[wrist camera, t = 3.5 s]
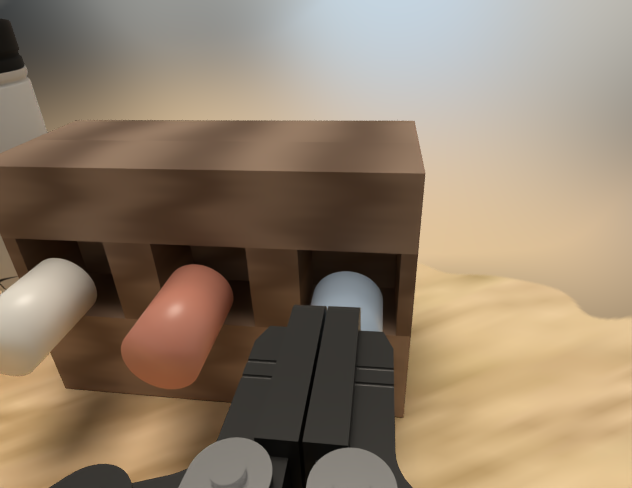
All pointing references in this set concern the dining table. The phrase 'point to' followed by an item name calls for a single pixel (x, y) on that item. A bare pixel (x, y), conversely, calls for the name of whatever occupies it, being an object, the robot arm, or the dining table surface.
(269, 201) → the box
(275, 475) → the robot arm
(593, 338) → the dining table surface
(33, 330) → the white key
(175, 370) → the red key
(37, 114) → the travel mug
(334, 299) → the blue key
